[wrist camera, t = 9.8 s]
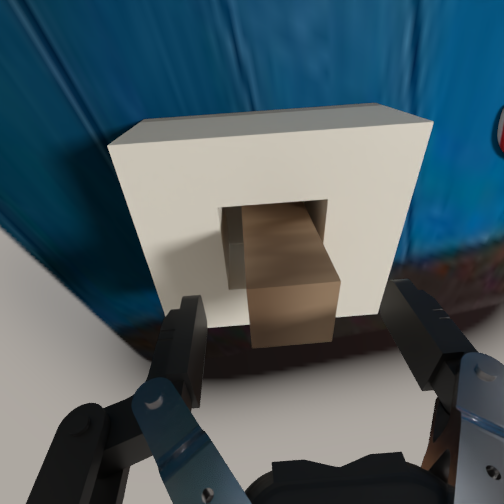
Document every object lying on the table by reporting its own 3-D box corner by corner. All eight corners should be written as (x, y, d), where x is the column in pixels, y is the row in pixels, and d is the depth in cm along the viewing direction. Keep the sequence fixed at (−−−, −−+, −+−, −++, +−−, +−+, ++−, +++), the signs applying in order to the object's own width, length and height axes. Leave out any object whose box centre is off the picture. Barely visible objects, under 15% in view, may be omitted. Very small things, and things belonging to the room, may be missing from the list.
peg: (293, 181, 18) (341, 281, 10) (292, 227, 20) (331, 341, 12) (240, 186, 18) (246, 289, 10) (244, 231, 20) (252, 348, 12)
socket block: (375, 102, 17) (433, 121, 12) (347, 260, 24) (377, 313, 19) (143, 119, 17) (107, 145, 12) (183, 273, 24) (170, 330, 19)
